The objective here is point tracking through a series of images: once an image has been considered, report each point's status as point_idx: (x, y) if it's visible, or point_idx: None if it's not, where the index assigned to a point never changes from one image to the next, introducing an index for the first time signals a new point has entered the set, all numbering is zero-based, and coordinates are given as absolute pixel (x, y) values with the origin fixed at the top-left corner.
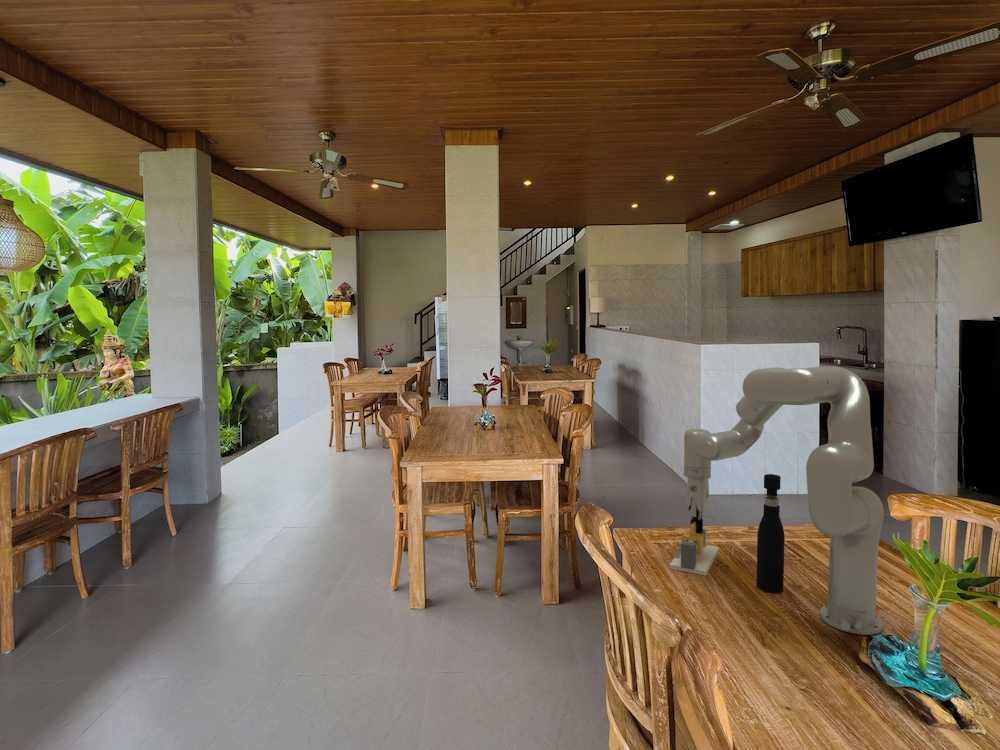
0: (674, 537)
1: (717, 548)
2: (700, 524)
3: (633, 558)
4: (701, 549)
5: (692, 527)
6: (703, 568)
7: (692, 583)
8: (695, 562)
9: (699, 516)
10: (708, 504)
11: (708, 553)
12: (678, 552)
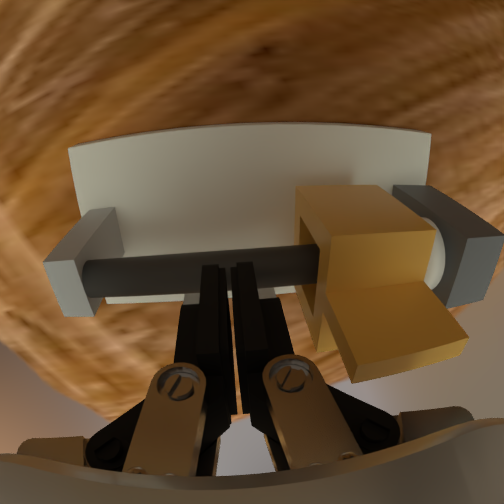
0: (71, 340)
1: (89, 146)
2: (261, 321)
3: (344, 375)
4: (358, 194)
5: (461, 335)
6: (407, 148)
7: (482, 171)
8: (416, 192)
9: (335, 406)
10: (32, 494)
11: (191, 165)
12: None
